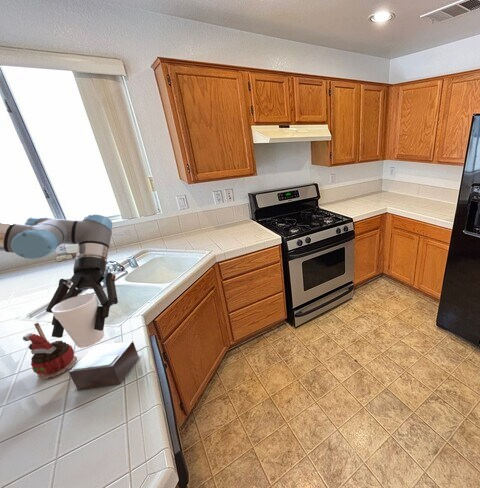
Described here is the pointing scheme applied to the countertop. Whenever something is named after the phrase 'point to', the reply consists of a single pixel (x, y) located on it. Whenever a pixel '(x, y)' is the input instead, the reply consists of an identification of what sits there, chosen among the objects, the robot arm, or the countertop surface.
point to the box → (104, 365)
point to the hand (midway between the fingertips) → (78, 333)
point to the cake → (49, 355)
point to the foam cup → (79, 319)
